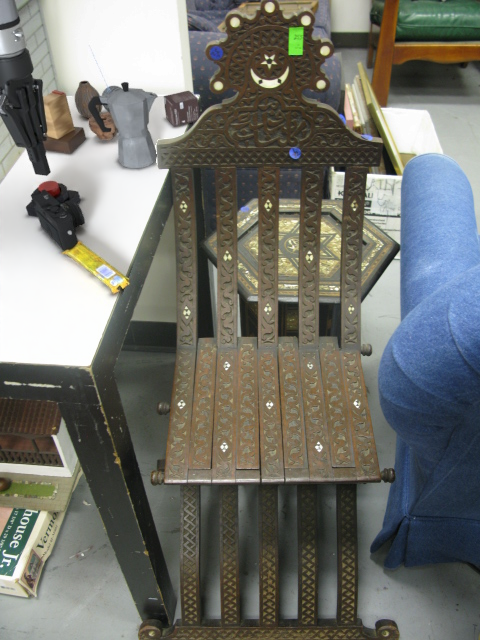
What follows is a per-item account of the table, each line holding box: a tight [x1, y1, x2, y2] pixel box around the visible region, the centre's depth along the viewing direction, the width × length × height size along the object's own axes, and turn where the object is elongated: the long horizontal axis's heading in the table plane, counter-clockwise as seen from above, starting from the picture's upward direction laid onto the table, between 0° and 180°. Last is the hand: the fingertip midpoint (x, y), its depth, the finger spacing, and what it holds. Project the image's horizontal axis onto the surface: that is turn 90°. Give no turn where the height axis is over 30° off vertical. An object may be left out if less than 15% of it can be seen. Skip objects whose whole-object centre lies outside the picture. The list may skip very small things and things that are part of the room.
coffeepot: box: [88, 81, 159, 169], centre depth 126 cm, size 15×9×18 cm, turn 99°
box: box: [163, 90, 200, 128], centre depth 144 cm, size 6×6×7 cm
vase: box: [74, 80, 103, 119], centre depth 147 cm, size 7×7×9 cm
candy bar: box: [61, 240, 130, 295], centre depth 101 cm, size 17×4×2 cm, turn 46°
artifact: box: [88, 112, 119, 141], centre depth 139 cm, size 8×8×5 cm
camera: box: [30, 189, 86, 252], centre depth 108 cm, size 14×7×8 cm, turn 39°
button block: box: [25, 182, 82, 218], centre depth 117 cm, size 8×8×4 cm
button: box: [37, 180, 60, 196], centre depth 115 cm, size 4×4×2 cm
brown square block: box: [43, 126, 87, 155], centre depth 138 cm, size 8×8×3 cm
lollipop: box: [88, 45, 123, 113], centre depth 142 cm, size 10×20×7 cm
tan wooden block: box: [43, 89, 75, 139], centre depth 134 cm, size 6×4×9 cm, turn 148°
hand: (43, 173), depth 113 cm, fingers closed
